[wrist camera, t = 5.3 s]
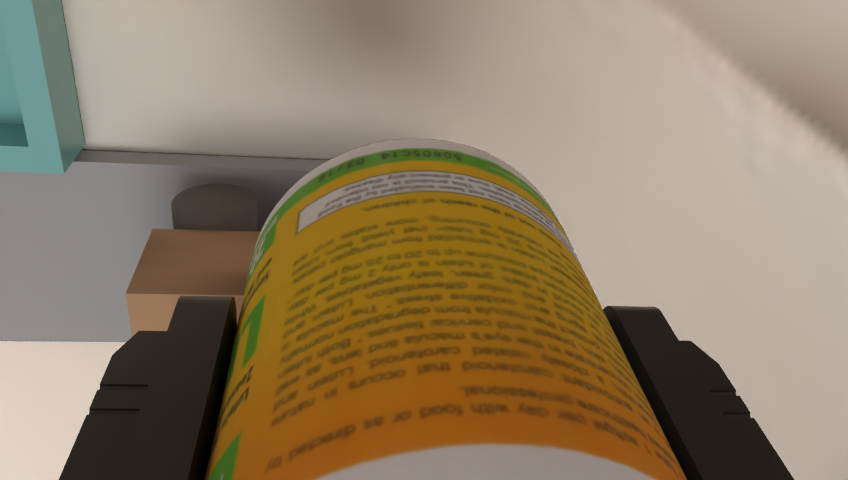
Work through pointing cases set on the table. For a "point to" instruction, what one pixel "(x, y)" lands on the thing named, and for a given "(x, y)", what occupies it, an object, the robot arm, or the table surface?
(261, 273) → the supplement bottle
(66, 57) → the cradle
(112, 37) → the table surface
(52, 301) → the rail
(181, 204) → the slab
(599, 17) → the table surface
